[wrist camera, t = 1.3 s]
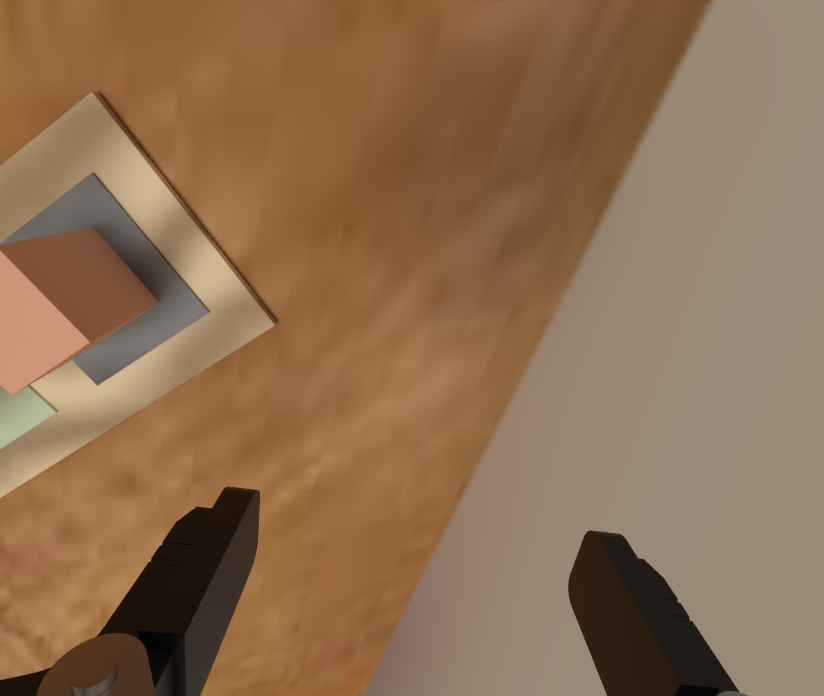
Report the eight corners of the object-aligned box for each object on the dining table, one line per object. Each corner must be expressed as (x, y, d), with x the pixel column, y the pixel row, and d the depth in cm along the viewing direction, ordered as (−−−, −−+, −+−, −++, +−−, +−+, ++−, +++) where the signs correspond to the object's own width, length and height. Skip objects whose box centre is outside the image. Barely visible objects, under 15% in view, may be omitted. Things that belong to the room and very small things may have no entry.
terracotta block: (27, 275, 27) (-86, 308, 21) (93, 226, 26) (-5, 245, 20) (96, 345, 29) (11, 395, 23) (159, 302, 28) (89, 342, 22)
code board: (-226, 355, 30) (-242, 360, 29) (98, 93, 25) (89, 91, 24) (-23, 511, 35) (-32, 518, 34) (277, 322, 30) (274, 326, 29)
